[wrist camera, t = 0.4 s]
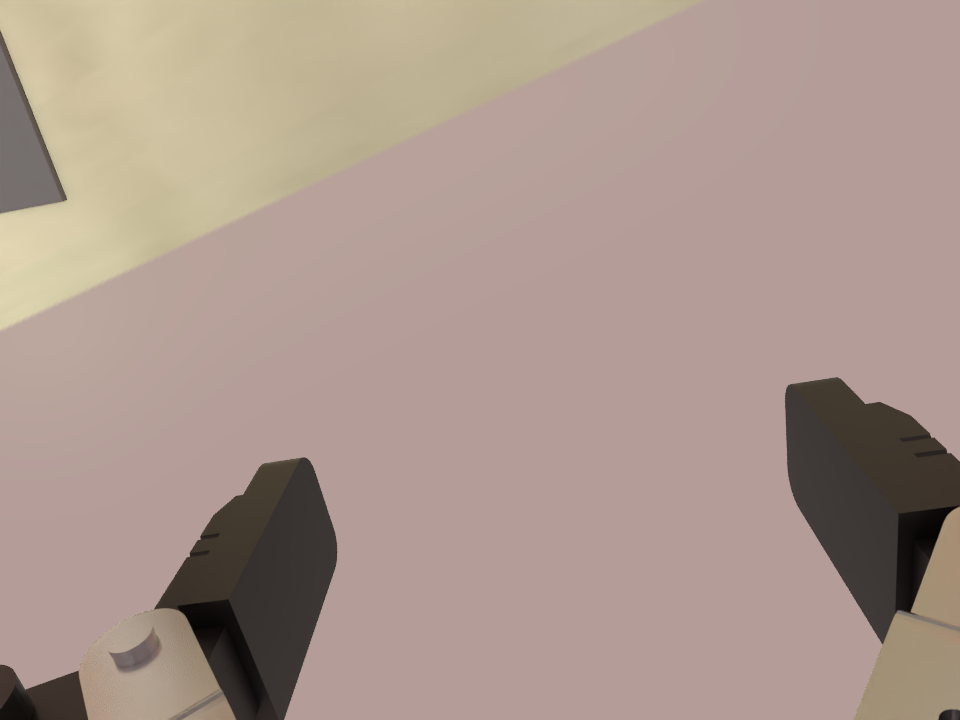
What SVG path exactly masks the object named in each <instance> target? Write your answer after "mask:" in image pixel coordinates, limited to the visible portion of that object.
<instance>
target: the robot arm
mask: <svg viewBox="0 0 960 720" xmlns="http://www.w3.org/2000/svg"><path fill="white" fill-rule="evenodd" d="M785 409H786V436H787V465H788V476H789V481H790V485H791V489H792V493H793V496H794V499H795V501H796V503H797V506H798V507H799V509H800V511H801V512H802V514H803V516H804V517H805V519H806V520H807V522H808V524H809V525H810V527H811V529H812V530H813V532H814V533H815V535H816V537H817V538H818V540H819V542H820V543H821V545H822V547H823V548H824V550H825V551H826V553H827V555H828V556H829V558H830V560H831V561H832V563H833V564H834V566H835V568H836V569H837V571H838V573H839V574H840V576H841V577H842V579H843V581H844V582H845V584H846V586H847V587H848V589H849V591H850V592H851V594H852V595H853V597H854V599H855V600H856V602H857V604H858V605H859V607H860V608H861V610H862V612H863V613H864V615H865V616H866V618H867V620H868V621H869V623H870V625H871V626H872V628H873V630H874V631H875V633H876V634H877V636H878V638H879V639H880V641H881V643H882V644H883V646H882V648H881V651H880V653H879V657H878V659H877V661H876V664H875V666H874V669H873V671H872V674H871V676H870V679H869V682H868V684H867V687H866V689H865V692H864V694H863V697H862V700H861V702H860V705H859V707H858V710H857V713H856V715H855V717H854V720H960V461H958V460H957V459H956V458H955V457H954V456H953V455H952V454H951V453H947V450H946V448H945V447H943V446H942V445H941V444H940V443H939V442H938V441H937V440H936V439H935V438H931V436H930V433H929V432H928V431H926V429H924V428H923V427H922V426H921V425H920V424H919V423H918V422H917V421H916V420H915V419H914V418H913V417H912V416H910V415H908V414H906V413H904V412H901V411H899V410H896V409H894V408H892V407H890V406H888V405H885V404H883V403H881V402H877V403H871V404H865V403H864V402H863V401H862V400H861V399H860V398H859V397H858V396H857V395H856V394H855V393H854V392H853V391H852V390H851V389H850V388H849V387H848V386H847V385H846V384H845V383H844V382H843V381H842V380H841V379H839V378H829V379H823V380H816V381H810V382H803V383H796V384H790V385H788V387H787V389H786V393H785ZM336 561H337V542H336V536H335V531H334V528H333V525H332V522H331V519H330V516H329V514H328V510H327V507H326V504H325V501H324V498H323V495H322V492H321V489H320V486H319V483H318V480H317V477H316V473H315V471H314V468H313V466H312V464H311V462H310V461H309V460H308V459H307V458H297V459H290V460H284V461H278V462H271V463H265V464H262V465H261V466H260V467H259V469H258V471H257V472H256V474H255V476H254V477H253V479H252V481H251V482H250V484H249V486H248V487H247V489H246V491H245V492H244V494H243V495H240V496H235V497H234V498H233V499H232V500H231V501H230V502H229V503H227V504H226V505H225V506H224V507H223V508H222V509H220V510H219V511H218V512H217V513H216V514H215V515H213V517H212V519H211V520H210V522H209V523H208V525H207V526H206V528H205V530H204V531H203V533H202V534H201V540H198V541H197V542H196V544H195V546H194V547H193V549H192V550H191V552H190V557H187V558H186V560H185V561H184V563H183V564H182V566H181V567H180V569H179V571H178V572H177V574H176V575H175V577H174V579H173V580H172V582H171V583H170V585H169V586H168V588H167V590H166V591H165V593H164V594H163V596H162V597H161V599H160V601H159V602H158V604H157V605H156V607H155V609H154V610H150V611H146V612H143V613H140V614H137V615H135V616H132V617H130V618H128V619H126V620H124V621H122V622H121V623H119V624H117V625H115V626H114V627H113V628H111V629H110V630H108V631H107V632H106V633H104V634H103V635H102V636H101V637H100V638H99V639H98V640H96V641H95V642H94V643H93V645H92V646H91V647H90V648H89V649H88V651H87V653H86V654H85V655H84V657H83V659H82V661H81V663H80V667H79V671H76V672H74V673H71V674H68V675H65V676H63V677H60V678H57V679H54V680H51V681H48V682H46V683H43V684H40V685H37V686H34V687H32V688H29V689H26V690H25V689H24V687H23V685H22V684H21V682H20V680H19V679H18V677H17V675H16V673H15V672H14V670H13V669H12V668H10V667H8V666H5V665H0V720H284V718H285V715H286V712H287V709H288V706H289V703H290V700H291V697H292V694H293V691H294V689H295V686H296V683H297V680H298V677H299V674H300V671H301V668H302V665H303V662H304V659H305V656H306V653H307V650H308V647H309V644H310V641H311V638H312V635H313V632H314V629H315V626H316V623H317V621H318V618H319V614H320V612H321V609H322V606H323V602H324V600H325V596H326V594H327V591H328V588H329V585H330V582H331V579H332V576H333V573H334V570H335V567H336Z"/></svg>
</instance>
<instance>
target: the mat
mask: <svg viewBox="0 0 960 720" xmlns="http://www.w3.org/2000/svg"><path fill="white" fill-rule="evenodd" d="M64 200H67V199H66V197H65V194H64V192H63V189H62V186H61V184H60V181H59V179H58V176H57V174H56V171H55V169H54V166H53V164H52V161H51V159H50V156H49V154H48V151H47V149H46V146H45V144H44V141H43V139H42V136H41V133H40V131H39V128H38V126H37V123H36V121H35V118H34V116H33V113H32V111H31V108H30V106H29V103H28V101H27V98H26V96H25V93H24V91H23V88H22V86H21V83H20V80H19V78H18V75H17V73H16V70H15V68H14V65H13V63H12V60H11V58H10V55H9V53H8V50H7V48H6V45H5V43H4V40H3V38H2V35H1V33H0V213H2V212H7V211H13V210H18V209H23V208H28V207H34V206H39V205H44V204H50V203H55V202H60V201H64Z"/></svg>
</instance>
